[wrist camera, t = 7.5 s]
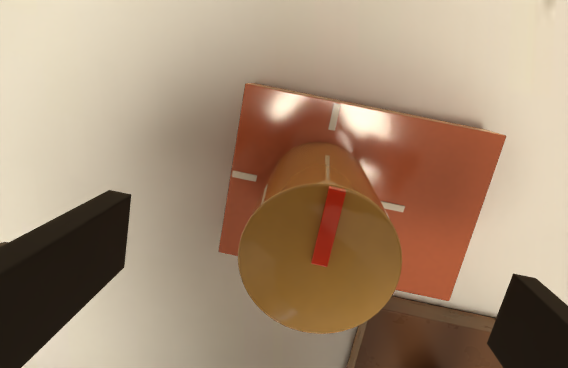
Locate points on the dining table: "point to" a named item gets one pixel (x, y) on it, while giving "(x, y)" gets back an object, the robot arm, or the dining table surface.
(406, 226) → the dial panel
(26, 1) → the dining table surface
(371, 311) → the tap handle
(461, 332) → the brown base with rod
